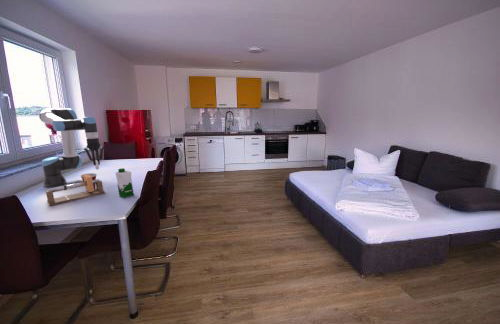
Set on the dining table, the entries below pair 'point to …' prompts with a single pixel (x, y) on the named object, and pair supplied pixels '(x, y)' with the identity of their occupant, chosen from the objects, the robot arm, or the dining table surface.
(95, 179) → the plastic cup
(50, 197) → the pipe stand
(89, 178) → the collar
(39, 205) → the dining table surface
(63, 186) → the steel pipe
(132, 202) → the dining table surface
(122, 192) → the milk carton
